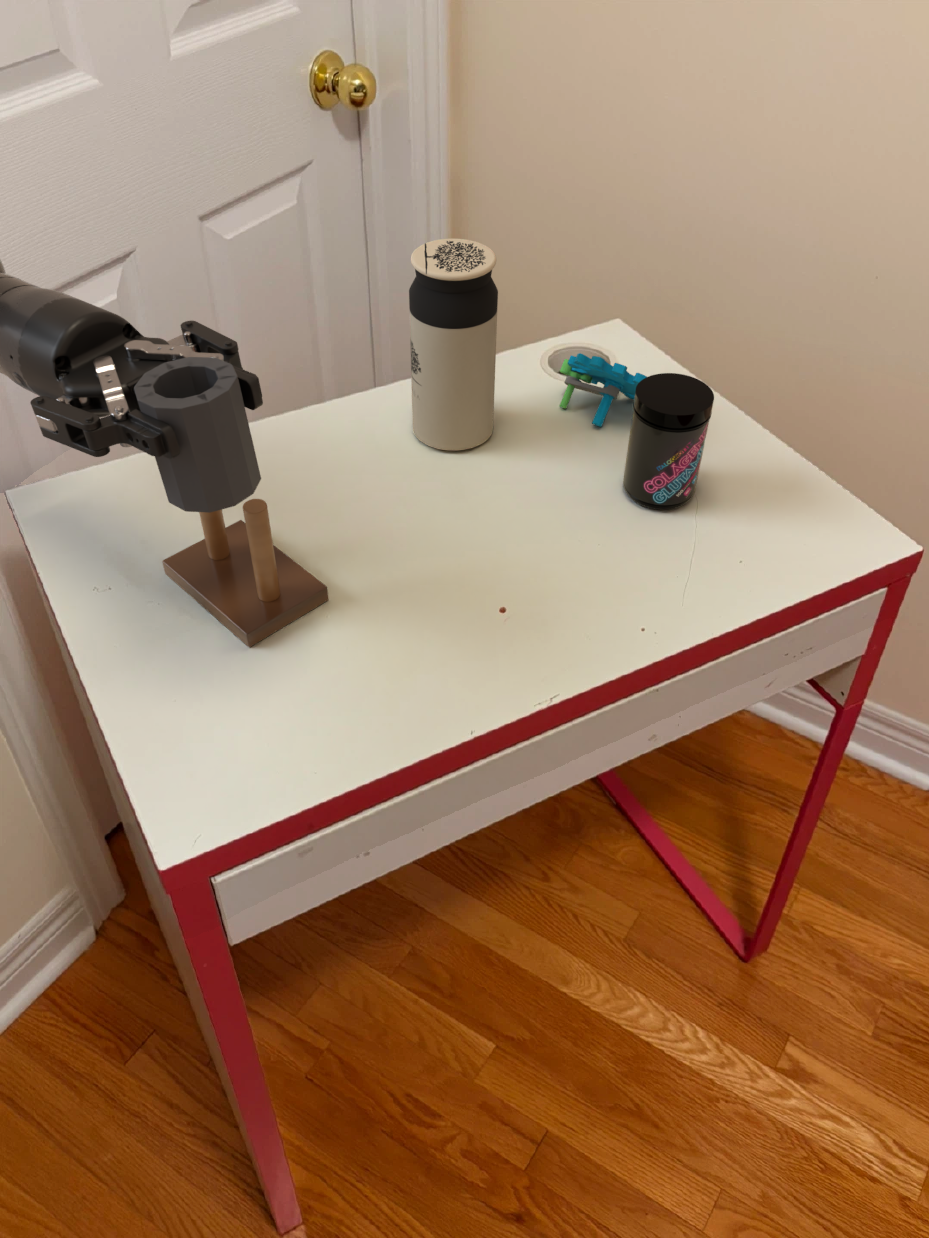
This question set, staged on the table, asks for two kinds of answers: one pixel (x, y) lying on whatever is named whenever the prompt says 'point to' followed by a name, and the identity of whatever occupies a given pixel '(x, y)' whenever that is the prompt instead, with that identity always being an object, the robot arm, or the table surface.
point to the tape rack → (245, 575)
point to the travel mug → (453, 343)
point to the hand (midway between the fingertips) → (216, 418)
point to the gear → (598, 372)
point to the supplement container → (666, 440)
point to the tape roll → (202, 433)
